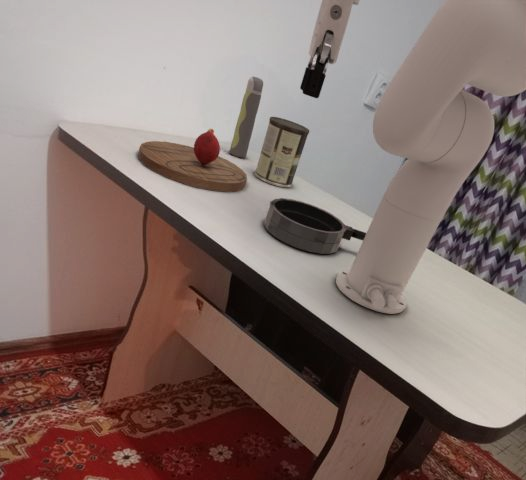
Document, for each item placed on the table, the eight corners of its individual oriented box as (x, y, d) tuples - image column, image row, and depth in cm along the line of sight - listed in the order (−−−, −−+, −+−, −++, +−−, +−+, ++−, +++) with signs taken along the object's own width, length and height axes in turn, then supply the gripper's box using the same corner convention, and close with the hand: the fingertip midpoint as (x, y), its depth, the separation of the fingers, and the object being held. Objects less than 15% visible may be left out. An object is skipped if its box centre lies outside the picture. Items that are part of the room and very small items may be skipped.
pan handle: (396, 255, 92) (401, 246, 91) (340, 237, 91) (344, 227, 90) (394, 251, 94) (398, 241, 93) (339, 233, 93) (343, 223, 92)
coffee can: (277, 174, 127) (293, 120, 120) (298, 189, 121) (317, 133, 113) (246, 170, 121) (262, 113, 113) (268, 185, 115) (286, 126, 107)
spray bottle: (240, 153, 134) (260, 77, 123) (248, 159, 131) (269, 82, 120) (226, 151, 131) (245, 73, 120) (233, 157, 128) (253, 77, 117)
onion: (211, 171, 103) (219, 134, 99) (187, 163, 103) (194, 125, 99) (218, 167, 108) (226, 131, 103) (195, 158, 108) (202, 122, 103)
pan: (341, 263, 87) (350, 241, 84) (262, 238, 85) (269, 215, 82) (334, 234, 100) (342, 214, 97) (265, 212, 98) (271, 191, 95)
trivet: (117, 145, 105) (118, 136, 104) (204, 153, 122) (206, 146, 121) (178, 190, 92) (180, 180, 91) (265, 193, 109) (268, 185, 108)
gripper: (369, -10, 74) (330, 104, 84) (354, -1, 89) (322, 96, 98) (325, -27, 73) (291, 91, 83) (317, -15, 88) (289, 84, 97)
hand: (308, 93), depth 90 cm, fingers open, 9 cm apart
